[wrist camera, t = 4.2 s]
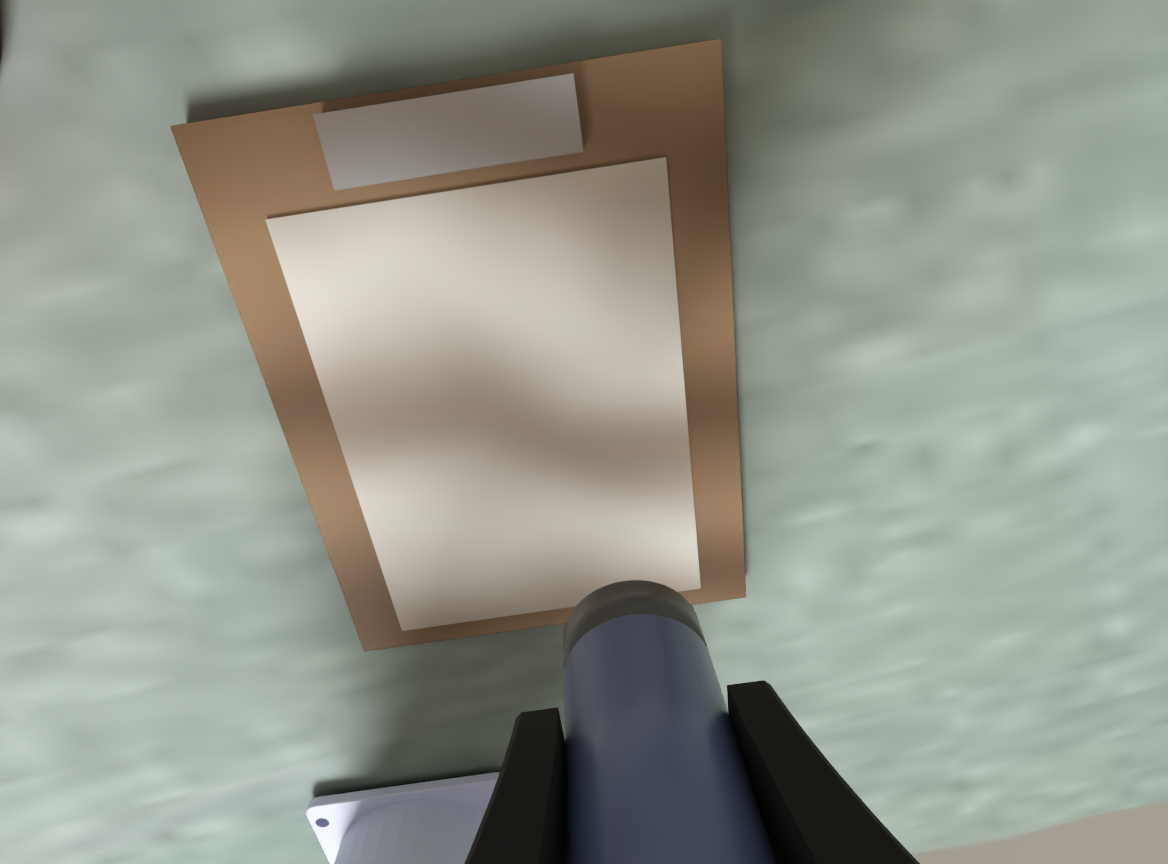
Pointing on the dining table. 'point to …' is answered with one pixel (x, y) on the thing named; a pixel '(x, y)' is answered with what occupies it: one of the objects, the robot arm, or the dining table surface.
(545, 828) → the robot arm
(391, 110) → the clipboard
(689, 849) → the blue cylindrical bottle
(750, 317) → the dining table surface
